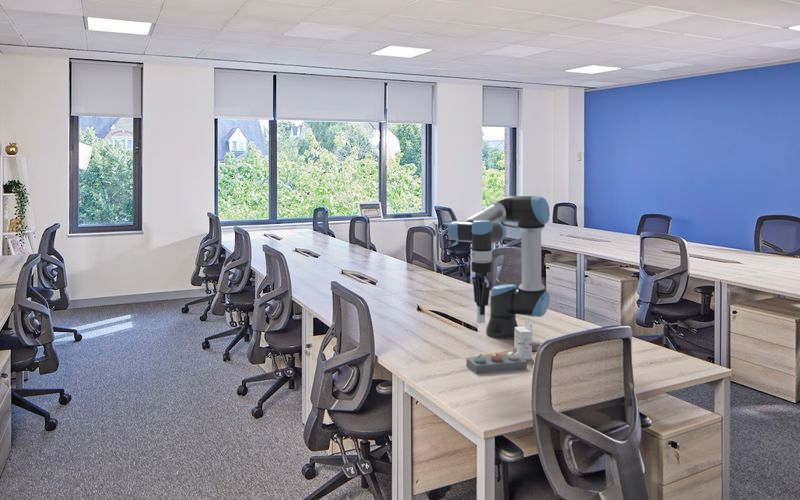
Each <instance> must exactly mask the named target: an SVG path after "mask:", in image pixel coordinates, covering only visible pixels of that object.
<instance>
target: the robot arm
mask: <svg viewBox="0 0 800 500" xmlns="http://www.w3.org/2000/svg"><path fill="white" fill-rule="evenodd" d="M550 214H551V213H550V206H549V203H548V201H547V200H546V198H544V197H543V196H535V195H508V196H505V197H501V198H499V199H496V200H494V201H491V203H489V204H488V205H487V207H486V208H484V209H482V210H481V211H479V212H477V213H475V214H473V215H472V216H470V217H468V218H466V219H464V220H463V221H452V222H450V224H449V225H448V229H447V233H448V237H449V238H450V240H453V241H457V242H460V241H462V242H471V253H470V256H471V261H472V262H471V272H472V273H474V276H472V277H471V280H472V284H473V285H472V286H473V287H472V288H473V301H474V303H475V305H476V323H478V324H484V323H486V306H488V305H489V303H490V306H489V307H490V311H489V312H490V313H489V315H490V316H489V321H488V323H487V325H486V326H487V327H486V329H485V330H486V331H485V332H486V333H485V334H486V335H487V336H489V337H492V338H495V339H514V338H513V337H514V334H515V327H519V325H518V322H517V317H516V315H518V316H519V315H520V316H527V317H528V316H529V317H532V318H535V317H537V318H541V317H543V316H545V314H546V313H547V312H548V308H549V306H550V298H551V297H550V292H548V291H546V286H545V285H544V284H543V283H542V231H543V229H545V226H546V224H547V223H549V220H550ZM502 222H503V223H504V222H507V223H508V222H509V223H517V228H518V230H519V231H521V232H520V234H521V235H520V238H521V240H520V241H521V243H520V244H521V245H520V246H521V283H520V284H518V288H517V285H516V284H512V283H511V284H499V285H495V286H493V287H492V288H491V286H492V282H490V281H489V275H488V274H489V273H491V272H492V262H491V261H492V260H493V249H492V248H493V244H495V243H500V242H501V241H503V240H504V239H505V238H506V235H507V230H506V229H507V228H506V227H505V225H503V224H502ZM489 298H490V299H489ZM489 300H490V301H489Z"/></svg>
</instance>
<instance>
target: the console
mask: <svg viewBox="0 0 800 500" xmlns="http://www.w3.org/2000/svg"><path fill="white" fill-rule="evenodd" d="M465 359H466V365H465V366H466V367H467V368H469V369H470V371H472V372H474V373H475V374H487V373H496V372H508V371H517V370H518V371H519V370H527V369H528V361H527V360H524V359H523V358H521V357H520V356H519V359H518V360H510V359H508V354H502V361H492V360H491V355H490V356H486V361H485V362H483V363H477V362H474V357H466V358H465Z"/></svg>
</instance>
